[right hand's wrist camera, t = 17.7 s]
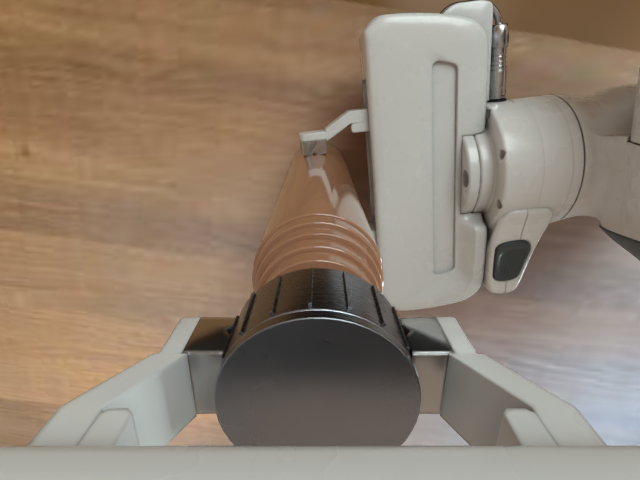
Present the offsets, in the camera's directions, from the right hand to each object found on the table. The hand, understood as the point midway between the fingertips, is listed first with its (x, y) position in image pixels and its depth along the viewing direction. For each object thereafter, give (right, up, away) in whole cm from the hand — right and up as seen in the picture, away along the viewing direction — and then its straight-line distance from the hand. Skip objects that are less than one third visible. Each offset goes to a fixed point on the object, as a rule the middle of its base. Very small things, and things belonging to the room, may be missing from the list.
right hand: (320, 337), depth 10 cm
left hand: (-1, +6, +17) cm, 18 cm away
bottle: (0, +9, +22) cm, 24 cm away
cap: (0, -1, -2) cm, 2 cm away
